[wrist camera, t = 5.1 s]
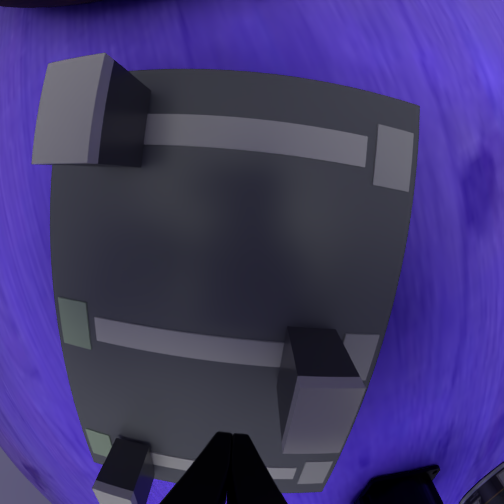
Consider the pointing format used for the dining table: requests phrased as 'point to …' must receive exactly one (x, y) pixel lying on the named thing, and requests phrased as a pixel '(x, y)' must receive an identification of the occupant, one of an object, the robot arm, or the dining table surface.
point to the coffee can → (487, 489)
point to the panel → (228, 259)
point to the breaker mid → (316, 391)
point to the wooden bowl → (41, 3)
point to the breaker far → (125, 474)
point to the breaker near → (91, 114)
